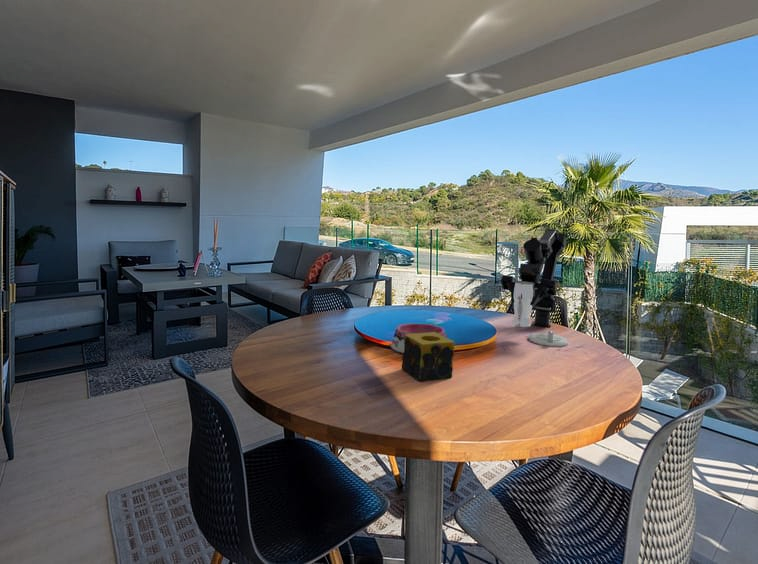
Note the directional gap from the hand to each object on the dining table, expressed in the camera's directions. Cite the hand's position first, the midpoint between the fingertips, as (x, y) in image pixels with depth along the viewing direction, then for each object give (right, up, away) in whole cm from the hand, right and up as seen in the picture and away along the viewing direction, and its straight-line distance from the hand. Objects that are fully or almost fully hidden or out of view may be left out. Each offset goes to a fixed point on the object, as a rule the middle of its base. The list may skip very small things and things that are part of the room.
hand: (522, 304), depth 145 cm
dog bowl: (-37, -14, -11) cm, 41 cm away
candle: (-37, -17, -34) cm, 53 cm away
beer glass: (+1, -8, +2) cm, 8 cm away
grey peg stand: (+10, -13, +3) cm, 17 cm away
